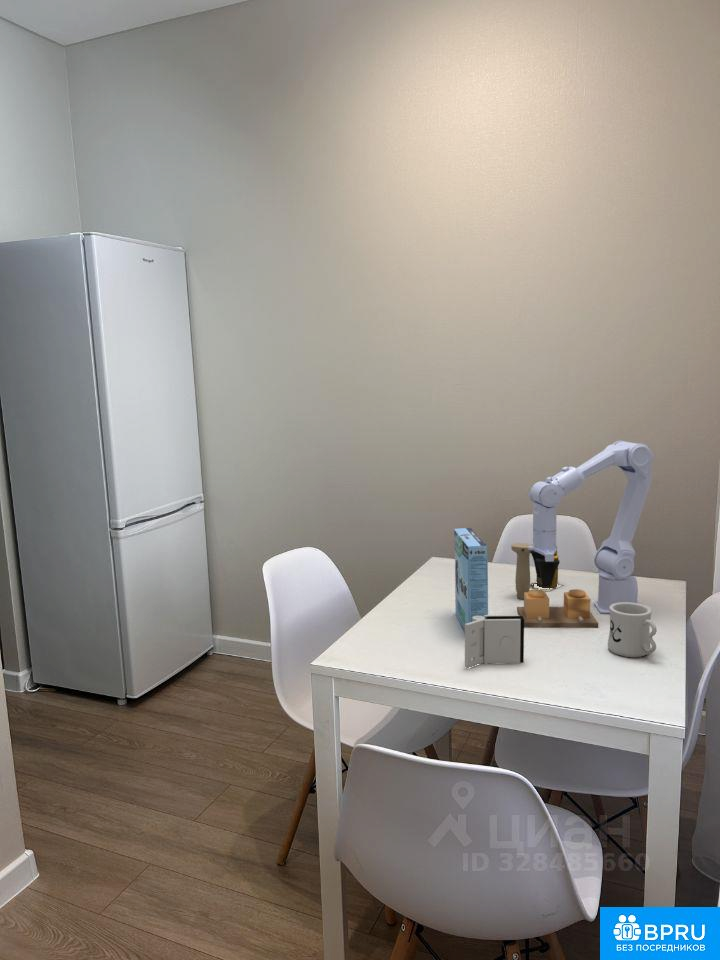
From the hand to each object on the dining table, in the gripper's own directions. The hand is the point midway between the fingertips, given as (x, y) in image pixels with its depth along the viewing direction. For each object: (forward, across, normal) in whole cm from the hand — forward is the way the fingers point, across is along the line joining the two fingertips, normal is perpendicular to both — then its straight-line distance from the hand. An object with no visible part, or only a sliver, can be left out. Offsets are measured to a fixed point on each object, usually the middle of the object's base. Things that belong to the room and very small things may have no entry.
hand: (544, 581), depth 190 cm
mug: (+10, +24, +16) cm, 30 cm away
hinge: (+9, +30, -16) cm, 35 cm away
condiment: (+10, -26, +5) cm, 28 cm away
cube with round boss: (+8, +2, -2) cm, 9 cm away
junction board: (+9, +2, +3) cm, 10 cm away
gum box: (+9, +7, -19) cm, 22 cm away
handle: (+10, -15, -3) cm, 18 cm away
